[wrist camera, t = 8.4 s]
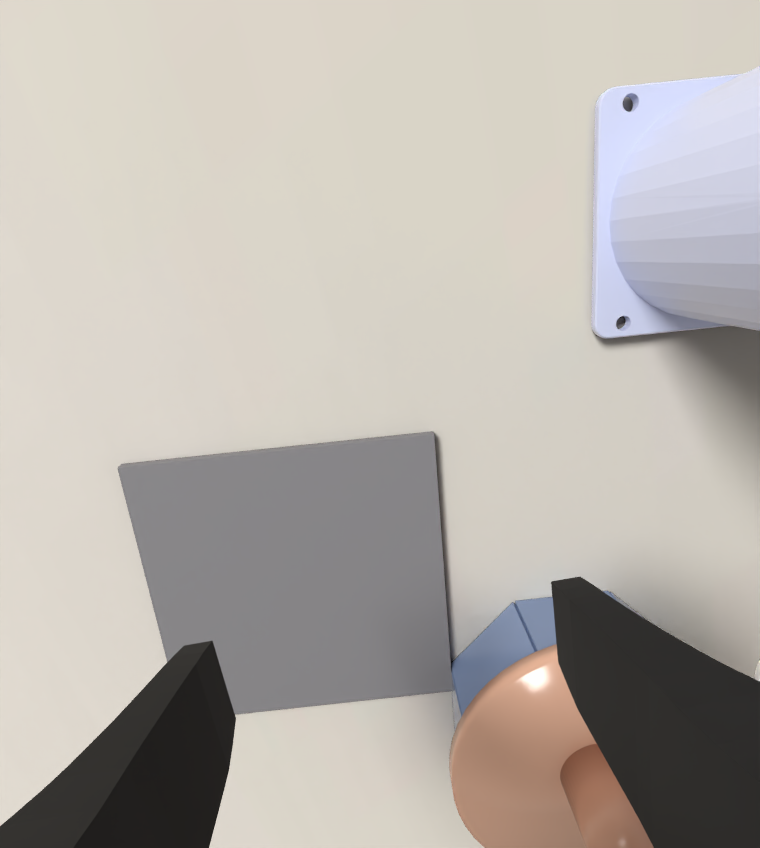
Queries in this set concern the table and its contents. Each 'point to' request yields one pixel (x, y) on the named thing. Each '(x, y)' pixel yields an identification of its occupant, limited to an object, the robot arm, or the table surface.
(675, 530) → the table surface
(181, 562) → the mat
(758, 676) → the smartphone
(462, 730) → the lid
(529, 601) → the bowl
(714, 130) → the robot arm
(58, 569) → the table surface
